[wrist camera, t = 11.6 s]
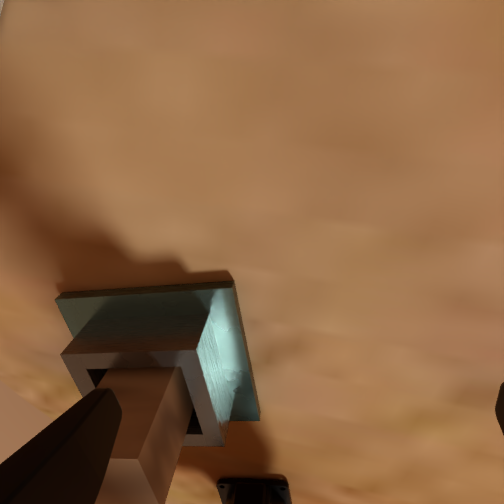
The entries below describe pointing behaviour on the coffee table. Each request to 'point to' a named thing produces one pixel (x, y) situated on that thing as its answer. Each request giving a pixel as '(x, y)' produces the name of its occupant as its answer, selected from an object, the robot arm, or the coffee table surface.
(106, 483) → the peg
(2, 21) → the coffee table surface
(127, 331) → the socket
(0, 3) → the small box
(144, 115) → the coffee table surface
